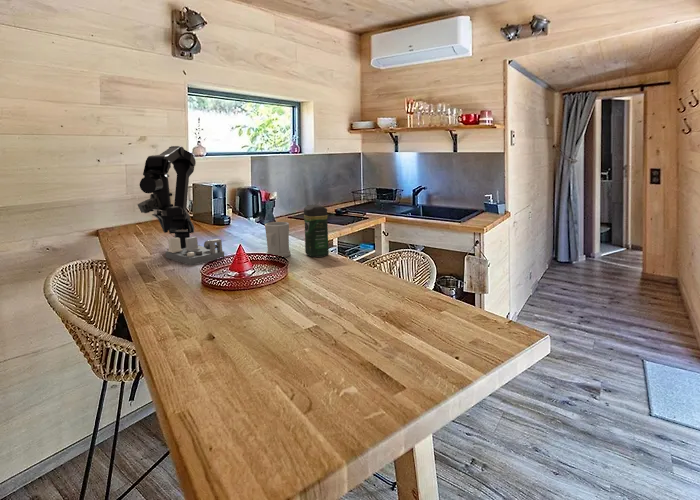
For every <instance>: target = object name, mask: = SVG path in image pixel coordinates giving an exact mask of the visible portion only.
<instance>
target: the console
mask: <svg viewBox="0 0 700 500" xmlns="http://www.w3.org/2000/svg"><path fill="white" fill-rule="evenodd" d="M208 241H209V243H210V249H206V248H205V247H204V245H203V246H202V245H198V248H199V249H200V250H199V251H194V252H188V251H185V249H186V248H182V249H183V251H181V252H175V253H172V252H168V250H166V251H165V258H166V259H169V260H172V261H175V262H179V263H181V264H186V265H189V266H193V265H198V264H203V263H207V262H212V261H216V260H215V259H217V258H220V257H225V251H224V250H223V245H222V243H223V242H222V239H221V238H215V239H209V240H208ZM215 245H217V246H218V247H217V248H215ZM217 260H218V259H217Z"/></svg>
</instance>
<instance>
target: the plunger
mask: <svg viewBox="0 0 700 500" xmlns="http://www.w3.org/2000/svg"><path fill="white" fill-rule="evenodd" d="M203 247H205V248H206V249H210V243H209V240H205V242H204V243H203ZM217 247H218V246H217V244H215V249H217Z"/></svg>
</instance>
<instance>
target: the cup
mask: <svg viewBox="0 0 700 500" xmlns="http://www.w3.org/2000/svg"><path fill="white" fill-rule="evenodd" d="M264 229H265V237H266V238H265V239H266V245H267V248H266V249H267V251H266V255H267V254H274V255H279V256H283V257H284V258H288V257H289V256H291V250H290V239H289V238H290V234H289V233H290V222H286V221H273V222H267V223H265V224H264Z"/></svg>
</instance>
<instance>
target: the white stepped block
mask: <svg viewBox="0 0 700 500" xmlns="http://www.w3.org/2000/svg"><path fill="white" fill-rule="evenodd" d="M185 241H186V249H185V251H188V252H194V251H199V250H200V249H199V248H198V237H197V236H190V237H189V238H185Z"/></svg>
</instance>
